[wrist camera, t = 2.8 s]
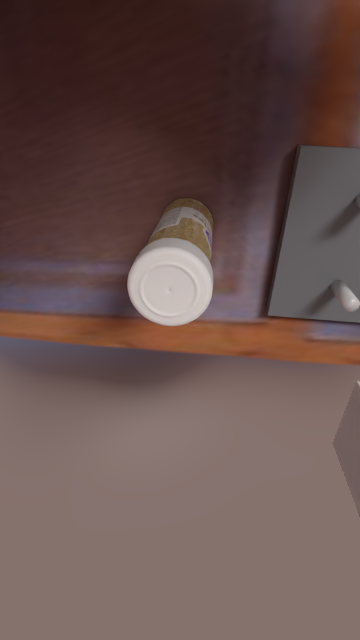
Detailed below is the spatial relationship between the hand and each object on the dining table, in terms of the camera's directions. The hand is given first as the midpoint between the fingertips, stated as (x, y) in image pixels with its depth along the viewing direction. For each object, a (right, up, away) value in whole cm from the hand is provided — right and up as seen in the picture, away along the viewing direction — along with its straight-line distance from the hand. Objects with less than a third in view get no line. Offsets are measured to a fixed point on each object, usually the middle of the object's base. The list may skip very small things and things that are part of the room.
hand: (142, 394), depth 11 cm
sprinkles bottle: (+2, +11, +18) cm, 21 cm away
